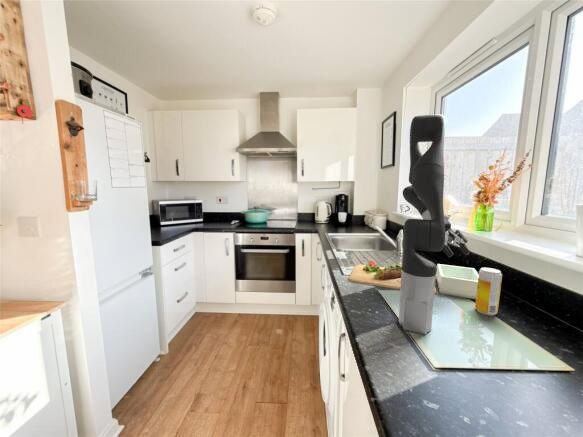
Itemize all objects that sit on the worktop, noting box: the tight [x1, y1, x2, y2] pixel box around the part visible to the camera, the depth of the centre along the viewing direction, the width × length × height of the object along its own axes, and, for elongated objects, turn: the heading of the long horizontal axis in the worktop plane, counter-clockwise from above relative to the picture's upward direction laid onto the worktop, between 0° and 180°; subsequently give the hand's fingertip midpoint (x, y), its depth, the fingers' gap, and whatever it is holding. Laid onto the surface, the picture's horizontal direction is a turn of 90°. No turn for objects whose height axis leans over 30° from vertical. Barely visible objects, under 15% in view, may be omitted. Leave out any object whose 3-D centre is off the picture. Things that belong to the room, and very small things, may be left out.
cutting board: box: [348, 260, 437, 295], centre depth 114 cm, size 35×23×8 cm
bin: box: [435, 263, 479, 300], centre depth 103 cm, size 18×14×7 cm
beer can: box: [474, 267, 503, 316], centre depth 83 cm, size 6×6×15 cm
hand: (459, 254), depth 92 cm, fingers open, 8 cm apart
